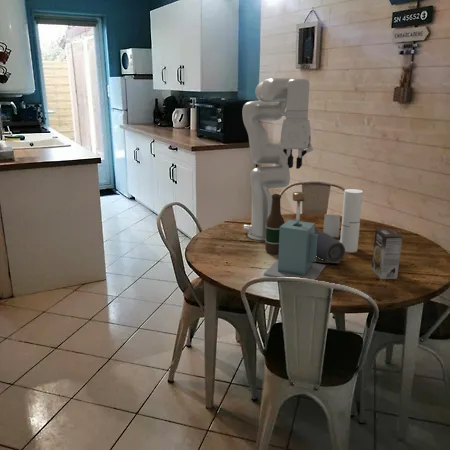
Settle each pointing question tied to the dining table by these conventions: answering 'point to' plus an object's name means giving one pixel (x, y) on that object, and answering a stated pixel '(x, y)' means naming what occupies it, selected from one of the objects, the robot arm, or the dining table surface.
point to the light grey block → (331, 225)
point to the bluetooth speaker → (329, 247)
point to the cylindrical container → (351, 219)
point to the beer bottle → (273, 226)
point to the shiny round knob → (298, 204)
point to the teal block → (296, 252)
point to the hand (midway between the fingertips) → (294, 167)
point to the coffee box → (386, 253)
